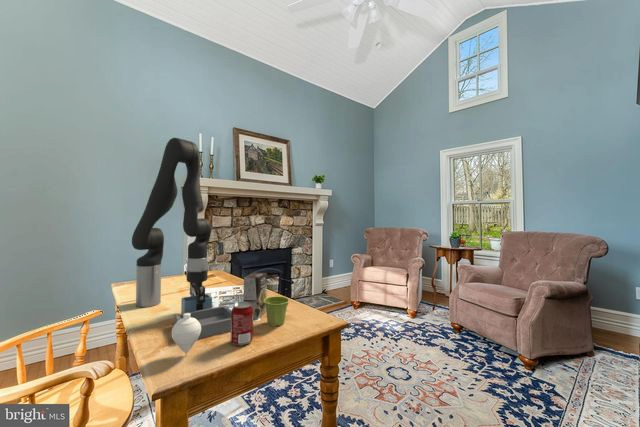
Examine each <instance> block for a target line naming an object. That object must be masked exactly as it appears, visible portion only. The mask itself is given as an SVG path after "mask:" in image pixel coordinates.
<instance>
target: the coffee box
mask: <svg viewBox="0 0 640 427" xmlns="http://www.w3.org/2000/svg"><path fill="white" fill-rule="evenodd" d="M267 289H268V273H267V272H252V273H250V274H248V275H246V276H244V277H243V296H242V299H243V300H242V302H250V303H251V306H252V308H253V320H255V319H256V321H257V320H259V319H260V318H261V317H262V316H264V314H265V313H267V312H266V306H265V303H264V299H266V298H268V297H267V295H268V294H267V293H268V290H267Z"/></svg>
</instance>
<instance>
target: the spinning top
mask: <svg viewBox="0 0 640 427" xmlns="http://www.w3.org/2000/svg"><path fill="white" fill-rule="evenodd" d="M190 315H191V314H190V313H185V314H183V319H181V320H179V321H177V323H176V324H175V323H174V325H173V326H172V329H171V338H172V339H173V341H174V343H175V344H176V346H178V348H179V349H180V350H181V351H182V352H184V353H185V356H186V357H187V356H188V353H189V351H190V350H191V349H192V348H193V346H194V345H195V344H196V342H197V341H198V340H199V339H198V337H199V335H200V333H201V325H200V323H199V321H198V320H197V319H195V318H191V317H190Z"/></svg>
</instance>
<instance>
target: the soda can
mask: <svg viewBox="0 0 640 427" xmlns="http://www.w3.org/2000/svg"><path fill="white" fill-rule="evenodd" d="M230 310H231V331H230V343H231V344H232V345H235V346H241V347H242V346H246V345H248V344H249V343H251V342H252V341H253V340H254V336H253V335H254V319H253V308H252V306H251V303H250V302H243V301H238V302H235V303H233V307H232V308H231V309H230Z"/></svg>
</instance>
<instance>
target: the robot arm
mask: <svg viewBox="0 0 640 427" xmlns="http://www.w3.org/2000/svg"><path fill="white" fill-rule="evenodd" d="M179 163H181V164H185V166H186V167H185V168H186V178H185V181H184V183H183V186H182V189H181V190H182V191H181V196H182V204H183V208H184V212H183V221H182V227H183V231H184V233H185V235H187V237H190V238H195V239H194V241H193V242H190V243H189V244H188V246H187V262H186V282H188V283H189V295H190V296H194V298H195V299H196V303H197V305H196V311H199V310H203V303H204V302H205V294H206V286H204V285H203V283H204V282H207V280H208V275H209V274H208V268H209V267H208V266H209V264H208V262H209V261H208V246H209V243H210V238H211V234H212V231H213V230H212V229H213V228H212V225H211V222H210V220H208V219H207V218H199V217H198V216H199V213H202V212H203V211H204V210H205V209H204V202H203V201H204V200H203V196H202V190H201V183H200V182H201V180H200V178H201V177H200V176H201V173H200V172H201V170H200V150H199V148H198V145H197V144H196V143H195V142H193V141H189V140H186V139H184V138H183V139H182V138H178V137H172V138H170V139H169V140H168V141H167V142H166V145H165V148H164V151H163V155H162V160H161V164H160V167H159V170H158V173H157V177H156V180H155V182H154V184H153V186H152V189H151V192H150V194H149V197H148V200H147V203H146V206H145V208H144V211H143V213H142V216H141V217H140V219H139V221H138V223H137V224H136V227H135V229H134V231H133V234H132V237H131V246H132V247H133V248H134V249H135V250H137V251H146V250H147V252H146V253H145V254H143V255H141V256H140V257H138V258H137V259H136V270H135V271H136V272H135V273H136V276H135V277H136V280H135V283H136V284H135V306H136V307H138V308H147V307H154V306H157V305H159V304H160V303H161V299H162V296H161V295H162V260H163V257H164V247H165V246H164V244H165V243H164V242H165V236H164V233H163V231H162V229H161V228H158V227H155V224H156V223H157V222H158V221H159V220H160V219H162V218H163V217H164V216H165V215H166V214H168V212H169V211H171V209H172V207H173V206H174V204H175V201H176V199H177V196H178V191H179V190H178V186H177V182H176V178H175V174H176V170H177V167H178V164H179ZM200 298H201V300H200Z"/></svg>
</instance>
